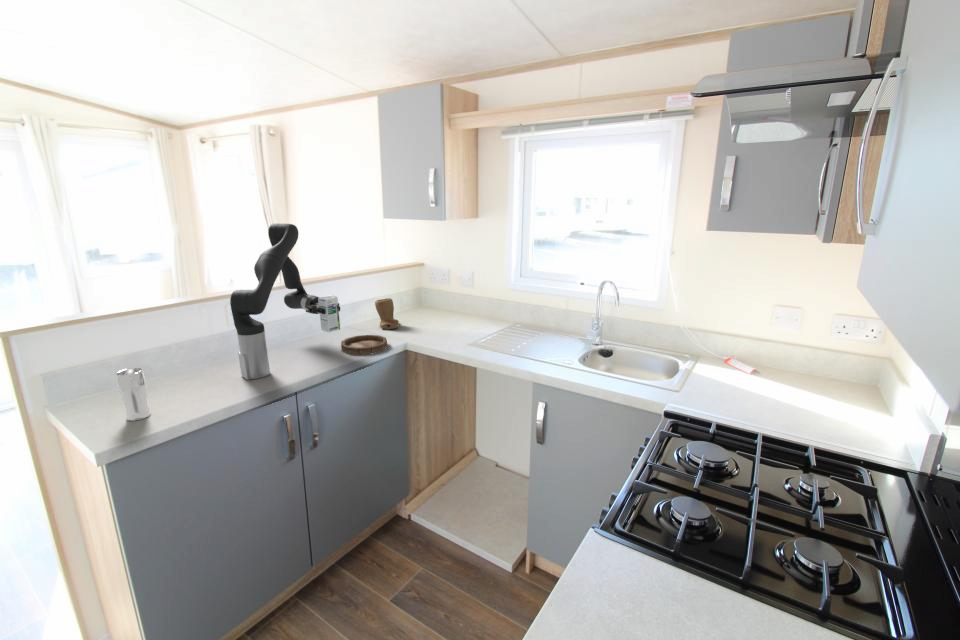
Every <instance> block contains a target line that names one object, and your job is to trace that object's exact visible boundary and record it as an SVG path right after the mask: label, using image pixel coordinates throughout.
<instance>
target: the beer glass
mask: <svg viewBox="0 0 960 640" xmlns="http://www.w3.org/2000/svg"><path fill="white" fill-rule="evenodd" d="M115 377H116V384H117V390H118V394H119V395H120V397H121V400H122V401H123V404H124V407H125V410H126V411H125V412H126V420H127V421H129V420H130V421H129V422H135V420H137V421H139V420H144V419H146V417H147V418H149V417H150V416H151V414H152V412H151V410H150V408H149V406H148V400H147V397H148V395H147V394H148V393H147V392H148V387H147V380H146V377H145V374H144V369H143V368H141V367H131V368H130V367H129V368H125V369H122V370H119V371H117V372H116V373H115Z"/></svg>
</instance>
